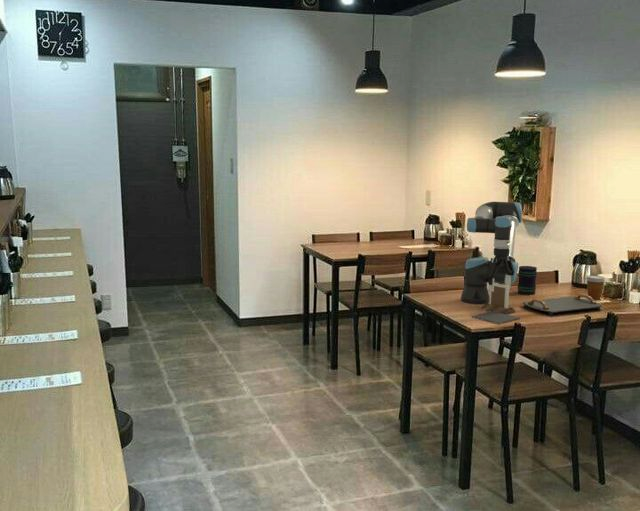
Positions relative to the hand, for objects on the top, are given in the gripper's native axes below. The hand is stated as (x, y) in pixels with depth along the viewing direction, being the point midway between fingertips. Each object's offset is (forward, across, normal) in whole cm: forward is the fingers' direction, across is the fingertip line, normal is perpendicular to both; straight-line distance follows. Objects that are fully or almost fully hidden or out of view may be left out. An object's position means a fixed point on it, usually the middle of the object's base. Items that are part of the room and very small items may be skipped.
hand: (499, 289), depth 315 cm
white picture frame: (+10, 0, 0) cm, 10 cm away
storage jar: (+11, +46, +15) cm, 50 cm away
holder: (+11, 0, 0) cm, 11 cm away
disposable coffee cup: (+11, +65, -15) cm, 68 cm away
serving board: (+12, +31, -16) cm, 37 cm away
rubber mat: (+11, -13, -8) cm, 19 cm away
